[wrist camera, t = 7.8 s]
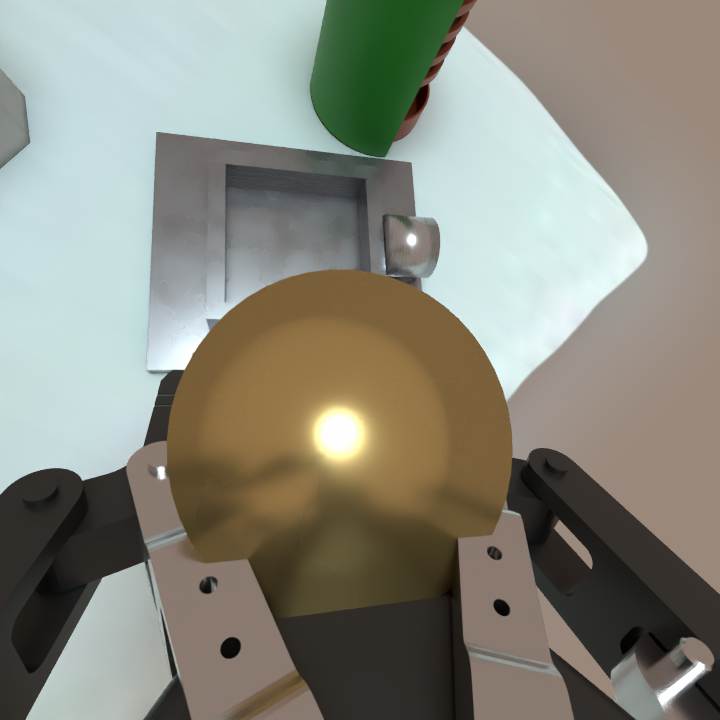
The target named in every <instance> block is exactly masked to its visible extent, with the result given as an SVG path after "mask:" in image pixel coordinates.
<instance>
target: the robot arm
mask: <svg viewBox="0 0 720 720" xmlns="http://www.w3.org/2000/svg"><path fill="white" fill-rule="evenodd" d="M193 354H194V352H193V353H192V355H193ZM183 372H184V370H171V371H170V372H169V373H168V374H167V375H166V376H165V377H164V378H163V379H162V380H161V383H160V386H159V390H158V396H157V398H156V401H155V407H154V409H153V412H152V416H151V420H150V424H149V427H148V431H147V435H146V439H145V442H144V446H143V447H142V448H141V449H139V450H138V451H137V452H135V453H134V454H133V455H132V456H131V458H130V459H129V461H128V463H127V466H125V467H123V468H121V469H119V470H117V471H115V472H112V473H109V474H106V475H102V476H98V477H95V478H91V479H87V480H84V481H82V480H81V478H80V476H79V475H78V474H76V473H75V472H73V471H70V470H67V469H60V468H52V469H45V470H40V471H36V472H33V473H31V474H28V475H26V476H24V477H22V478H20V479H18V480H17V481H15V482H14V483H12V484H11V485H10V486H9V487H8V488H6V489H5V490H4V491H3V493H2V494H1V495H0V720H25V719H26V717H27V715H28V714H29V712H30V710H31V708H32V706H33V704H34V703H35V701H36V699H37V697H38V695H39V693H40V691H41V690H42V688H43V686H44V684H45V682H46V680H47V679H48V677H49V675H50V673H51V671H52V669H53V668H54V666H55V664H56V662H57V660H58V658H59V657H60V655H61V653H62V651H63V649H64V647H65V646H66V644H67V642H68V640H69V638H70V636H71V635H72V633H73V631H74V629H75V627H76V625H77V623H78V622H79V620H80V618H81V616H82V614H83V612H84V611H85V609H86V607H87V605H88V603H89V601H90V600H91V598H92V596H93V594H94V592H95V590H96V589H97V587H98V585H99V583H100V581H101V579H102V578H103V577H105V576H108V575H110V574H113V573H116V572H118V571H121V570H124V569H126V568H129V567H132V566H134V565H137V564H139V563H142V562H144V565H145V569H146V573H147V577H148V581H149V585H150V589H151V593H152V597H153V602H154V606H155V610H156V614H157V618H158V622H159V627H160V631H161V636H162V641H163V645H164V650H165V654H166V659H167V663H168V667H169V671H170V675H171V679H172V681H171V682H170V684H169V685H168V686H167V688H166V689H165V690H164V692H163V693H162V695H161V696H160V697H159V699H158V700H157V702H156V703H155V704H154V706H153V707H152V708H151V710H150V711H149V713H148V714H147V715H146V717H145V718H144V719H143V720H720V594H719V593H717V592H716V591H715V590H714V589H713V588H712V587H711V586H710V585H709V584H708V583H707V582H705V581H704V580H703V579H702V578H701V577H700V576H699V575H698V574H697V573H696V572H694V571H693V570H692V569H691V568H690V567H689V566H688V565H687V564H685V562H683V561H682V560H681V559H680V558H679V557H678V556H677V555H676V554H675V553H674V552H672V551H671V550H670V549H669V548H668V547H667V546H666V545H665V544H663V543H662V542H661V541H660V540H659V539H658V538H657V537H656V536H655V535H654V534H653V533H651V532H650V531H649V530H648V529H647V528H646V527H645V526H644V525H643V524H642V523H641V522H640V521H638V520H637V519H636V518H635V517H634V516H633V515H632V514H631V513H630V512H628V511H627V510H626V509H625V508H624V507H623V506H622V505H621V504H620V503H618V501H616V500H615V499H614V498H613V497H612V496H611V495H610V494H609V493H608V492H606V491H605V490H604V489H603V488H602V487H601V486H600V485H599V484H598V483H597V482H595V481H594V480H593V479H592V478H591V477H590V476H589V475H588V474H587V473H586V472H584V471H583V470H582V469H581V468H580V467H579V466H578V465H577V464H576V463H575V462H573V461H572V460H571V459H570V458H568V457H567V456H566V455H563V454H562V453H560V452H558V451H555V450H552V449H547V448H538V449H535V450H533V451H532V452H531V453H530V454H529V456H528V458H527V460H521V459H516V458H512V467H511V476H510V482H509V487H508V493H507V497H506V500H505V503H504V506H503V510H502V513H501V516H500V518H499V521H498V523H497V525H496V527H495V530H494V532H493V534H492V535H487V536H477V537H467V538H458V542H457V549H456V556H455V563H454V570H453V576H452V583H451V588H450V589H449V590H448V591H447V592H445V593H444V594H443V595H441V596H440V597H435V598H428V599H421V600H413V601H406V602H399V603H391V604H384V605H376V606H369V607H362V608H354V609H347V610H340V611H332V612H325V613H317V614H310V615H303V616H295V617H288V618H281V619H278V618H276V617H273V616H272V614H271V612H270V609H269V607H268V605H267V602H266V600H265V598H264V595H263V593H262V591H261V589H260V586H259V584H258V582H257V579H256V577H255V575H254V573H253V570H252V568H251V566H250V563H249V561H248V559H246V560H236V561H226V562H216V563H206V564H205V563H204V561H203V560H202V558H201V557H200V555H199V554H198V552H197V551H196V549H195V548H194V546H193V545H192V543H191V542H190V540H189V538H188V535H187V533H186V531H185V529H184V527H183V525H182V523H181V521H180V519H179V516H178V512H177V509H176V506H175V503H174V500H173V496H172V493H171V487H170V481H169V475H168V469H167V434H168V425H169V417H170V412H171V408H172V404H173V401H174V397H175V393H176V389H177V387H178V385H179V382H180V380H181V377H182V375H183ZM559 519H560V520H561V522H562V523H563V524H564V525H565V526H566V527H567V528H568V529H569V530H570V531H571V532H572V533H573V534H574V535H575V537H576V538H577V539H578V540H579V541H580V542H581V543H582V544H583V545H584V546H585V547H586V548H587V550H588V551H589V553H590V555H591V557H592V561H593V566H592V569H590V568H589V567H588V566H587V565H586V563H585V562H584V561H583V560H582V559H581V558H580V557H579V556H578V555H577V553H576V552H575V551H574V550H573V549H572V548H571V547H570V546H569V545H568V544H567V542H565V540H564V539H563V538H562V537H561V536H560V535H559V534H558V533H557V532H556V530H555V529H554V527H555V526H556V524H557V522H558V521H559ZM536 585H537V587H538V588H539V589H540V591H541V592H542V593H543V594H544V596H545V597H546V598H547V599H548V601H549V602H550V603H551V605H552V606H553V607H554V608H555V610H556V611H557V612H558V613H559V615H560V616H561V617H562V618H563V620H564V621H565V622H566V623H567V625H568V626H569V627H570V629H571V630H572V631H573V632H574V634H575V635H576V636H577V638H578V639H579V640H580V641H581V643H582V644H583V645H584V647H585V648H586V649H587V650H588V652H589V653H590V654H591V655H592V657H593V658H594V659H595V660H596V662H597V663H598V664H599V666H600V667H601V668H602V669H603V671H604V672H605V673H606V675H607V676H608V677H609V678H610V679H611V683H612V687H613V691H614V693H615V696H616V698H615V700H614V701H613V700H612V699H611V698H610V697H608V696H607V695H606V694H605V693H604V692H602V691H601V690H600V689H599V688H597V687H596V686H595V685H594V684H593V683H591V682H590V681H589V680H587V678H585V677H584V676H583V675H582V674H580V673H579V672H578V671H577V670H576V669H574V668H573V667H572V666H571V665H569V664H568V663H567V662H566V661H565V660H563V659H562V658H561V657H560V656H559V655H557V654H556V653H555V652H554V651H553V650H551V649H550V648H549V646H548V641H547V636H546V631H545V626H544V621H543V617H542V612H541V607H540V603H539V598H538V593H537V588H536Z"/></svg>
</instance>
